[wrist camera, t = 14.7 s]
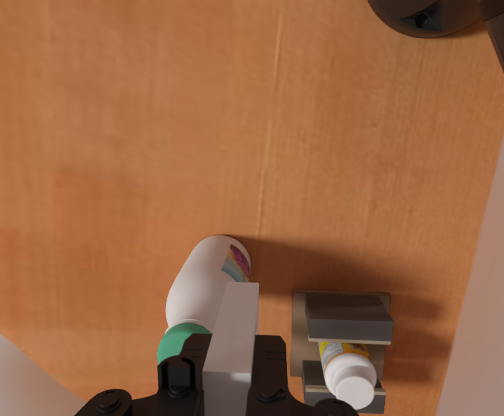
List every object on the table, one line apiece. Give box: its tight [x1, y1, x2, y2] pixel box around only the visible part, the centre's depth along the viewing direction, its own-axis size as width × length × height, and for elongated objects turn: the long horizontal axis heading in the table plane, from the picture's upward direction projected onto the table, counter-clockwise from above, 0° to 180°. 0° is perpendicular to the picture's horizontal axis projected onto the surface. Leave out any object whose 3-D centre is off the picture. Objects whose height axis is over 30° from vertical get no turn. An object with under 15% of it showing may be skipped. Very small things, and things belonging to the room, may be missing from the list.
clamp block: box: [290, 289, 394, 414], centre depth 46 cm, size 12×12×7 cm
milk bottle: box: [157, 235, 251, 364], centre depth 38 cm, size 8×8×20 cm
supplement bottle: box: [318, 342, 377, 410], centre depth 43 cm, size 6×6×10 cm
